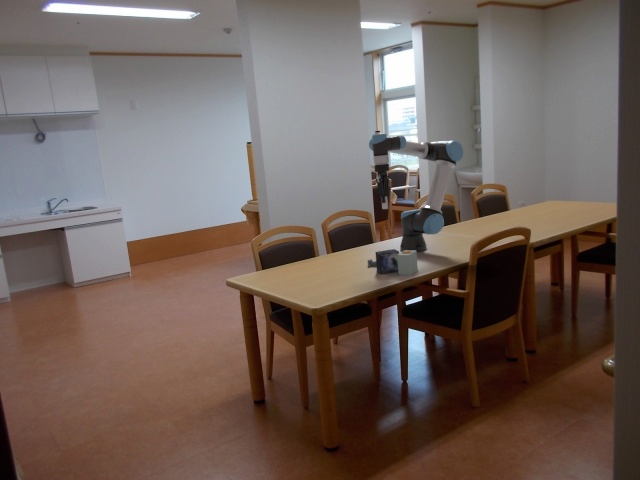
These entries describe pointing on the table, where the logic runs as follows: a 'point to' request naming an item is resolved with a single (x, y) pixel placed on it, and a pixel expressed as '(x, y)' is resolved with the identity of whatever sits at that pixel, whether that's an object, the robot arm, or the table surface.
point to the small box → (387, 261)
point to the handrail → (371, 262)
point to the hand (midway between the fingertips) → (385, 208)
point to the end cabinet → (407, 263)
